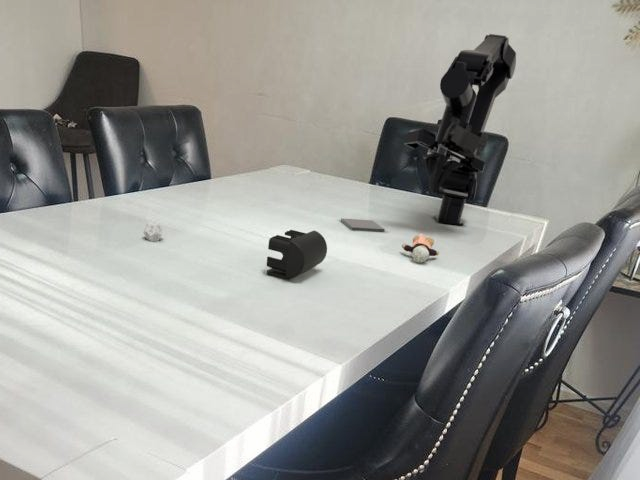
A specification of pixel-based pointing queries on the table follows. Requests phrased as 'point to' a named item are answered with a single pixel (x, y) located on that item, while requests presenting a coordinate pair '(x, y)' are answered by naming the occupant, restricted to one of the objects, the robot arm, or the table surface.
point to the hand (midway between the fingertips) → (432, 193)
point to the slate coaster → (362, 225)
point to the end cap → (296, 253)
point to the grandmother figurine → (421, 248)
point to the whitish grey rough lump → (153, 231)
